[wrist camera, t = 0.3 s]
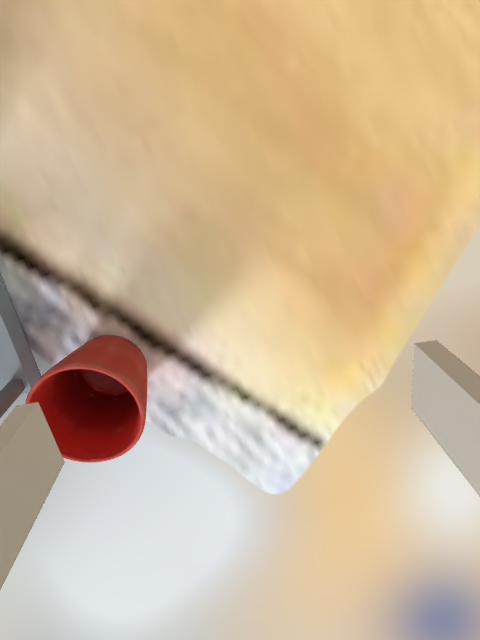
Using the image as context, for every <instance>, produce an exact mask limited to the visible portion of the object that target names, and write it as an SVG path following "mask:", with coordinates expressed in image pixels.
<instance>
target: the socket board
mask: <svg viewBox="0 0 480 640" xmlns="http://www.w3.org/2000/svg"><path fill="white" fill-rule="evenodd" d="M40 377H41V374H40V372H39V369H38V367H37V364H36V362H35V359H34V357H33V354H32V352H31V349H30V347H29V344H28V342H27V339H26V337H25V334H24V332H23V329H22V327H21V324H20V322H19V319H18V317H17V314H16V312H15V309H14V307H13V304H12V302H11V299H10V297H9V294H8V292H7V289H6V287H5V284H4V282H3V279H2V277H1V274H0V418H1V416H2V415H3V414H4V413H5V412H6V411H7V409H8V408H9V407H10V406H11V405H12V403H13V402H14V401H15V400H16V399H17V398H18V396H19V395H20V394H22V393H29V391H30V389H31V388H32V386H33V385H34V384H35V382H36V381H37V380H38V379H39V378H40Z"/></svg>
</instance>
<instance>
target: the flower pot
mask: <svg viewBox="0 0 480 640" xmlns="http://www.w3.org/2000/svg"><path fill="white" fill-rule="evenodd" d="M36 402H38V403H39V405H40V407H41V410H42V412H43V414H44V416H45V419H46V421H47V423H48V425H49V428H50V430H51V432H52V435H53V437H54V439H55V441H56V444H57V446H58V448H59V451H60V453H61V455H62V457H63V458H66V459H70V460H73V461H79V462H101V461H106V460H111V459H114V458H116V457H119V456H121V455H122V454H124V453H126V452H127V451H128V450H130V449H131V448H132V447H133V446H134V445H135V444H136V443H137V441H138V440H139V438H140V436H141V434H142V432H143V429H144V425H145V419H146V404H147V364H146V360H145V357H144V355H143V353H142V352H141V350H140V349H139V348H138V347H137V346H136V345H134V344H133V343H132V342H130V341H129V340H127V339H125V338H122V337H118V336H112V335H106V336H100V337H96V338H94V339H92V340H90V341H88V342H87V343H86V344H84V345H83V346H81V347H80V348H78V349H77V350H75V351H74V352H72V353H71V354H70V355H68V356H67V357H66V358H64V359H63V360H62V361H60V362H59V363H57V364H56V365H55V366H53V367H52V368H51V369H50V370H48V371H47V372H46V373H45V374H44V375H42V376H41V377H40V378H39V379H38V380H37V381H36V382H35V384H34V385H33V386H32V388H31V389H30V391H29V393H28V396H27V399H26V404H30V403H36Z"/></svg>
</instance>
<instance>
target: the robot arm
mask: <svg viewBox="0 0 480 640" xmlns="http://www.w3.org/2000/svg"><path fill="white" fill-rule="evenodd" d="M411 409H412V410H413V411H414V413H415V414H416V415H417V417H418V418H419V419H420V421H421V422H422V423H423V424H424V426H425V427H426V428H427V430H428V431H429V432H430V433H431V435H432V436H433V437H434V439H435V440H436V441H437V442H438V444H439V445H440V446H441V448H442V449H443V450H444V451H445V453H446V454H447V455H448V456H449V458H450V459H451V460H452V462H453V463H454V464H455V465H456V467H457V468H458V469H459V471H460V472H461V473H462V474H463V476H464V477H465V478H466V479H467V481H468V482H469V483H470V485H471V486H472V487H473V488H474V490H475V491H476V492H477V494H478V495H479V496H480V376H479V375H478V374H477V373H475V372H474V371H473V370H472V369H471V368H470V367H468V366H467V365H466V364H465V363H463V362H462V361H461V360H460V359H459V358H457V357H456V356H455V355H454V354H452V353H451V352H450V351H449V350H448V349H446V348H445V347H444V346H443V345H441V344H440V343H439V342H438V341H437V340H435V341H428V342H421V343H415V344H414V360H413V381H412V404H411ZM63 465H64V460H63V457H62V455H61V453H60V451H59V448H58V446H57V444H56V441H55V439H54V437H53V435H52V432H51V430H50V428H49V425H48V423H47V421H46V419H45V416H44V414H43V412H42V410H41V407H40V405H39V403H38V402H36V403H30V404H23V405H17V406H16V407H15V408H14V409H13V411H12V412H11V413H10V414H9V415H8V417H7V418H6V419H5V420H4V421H3V423H2V424H1V425H0V590H1V588H2V586H3V584H4V582H5V580H6V578H7V576H8V574H9V571H10V570H11V568H12V566H13V564H14V562H15V560H16V558H17V556H18V554H19V552H20V550H21V548H22V546H23V544H24V542H25V540H26V538H27V536H28V534H29V532H30V530H31V528H32V526H33V524H34V522H35V520H36V518H37V516H38V514H39V512H40V510H41V508H42V506H43V504H44V502H45V500H46V498H47V496H48V494H49V492H50V490H51V488H52V486H53V484H54V482H55V480H56V478H57V477H58V475H59V473H60V471H61V468H62V466H63Z"/></svg>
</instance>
